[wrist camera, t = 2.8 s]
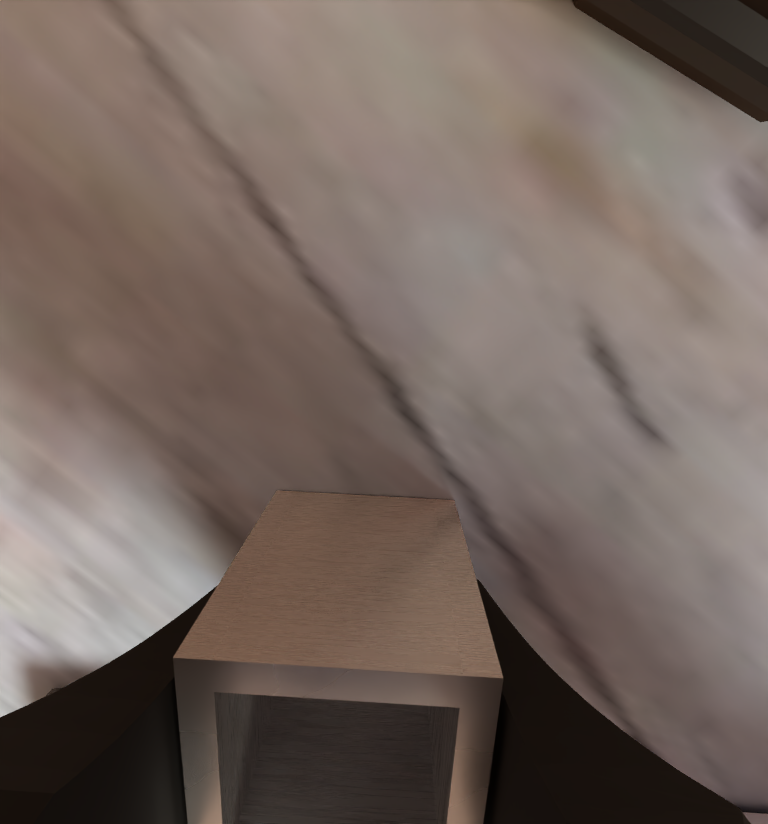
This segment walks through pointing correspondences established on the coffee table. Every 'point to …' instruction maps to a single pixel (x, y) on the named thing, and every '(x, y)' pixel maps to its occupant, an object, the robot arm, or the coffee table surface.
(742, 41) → the wooden barrel
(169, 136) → the coffee table surface
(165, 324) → the coffee table surface
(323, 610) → the collar
